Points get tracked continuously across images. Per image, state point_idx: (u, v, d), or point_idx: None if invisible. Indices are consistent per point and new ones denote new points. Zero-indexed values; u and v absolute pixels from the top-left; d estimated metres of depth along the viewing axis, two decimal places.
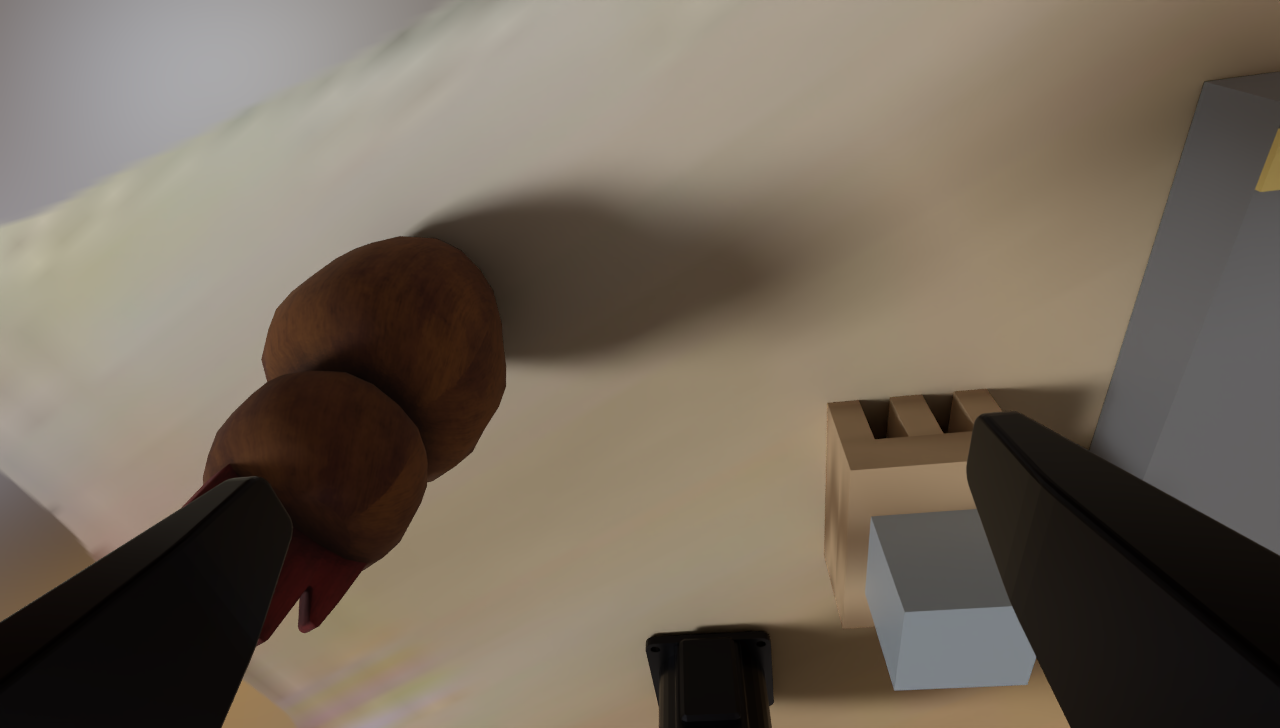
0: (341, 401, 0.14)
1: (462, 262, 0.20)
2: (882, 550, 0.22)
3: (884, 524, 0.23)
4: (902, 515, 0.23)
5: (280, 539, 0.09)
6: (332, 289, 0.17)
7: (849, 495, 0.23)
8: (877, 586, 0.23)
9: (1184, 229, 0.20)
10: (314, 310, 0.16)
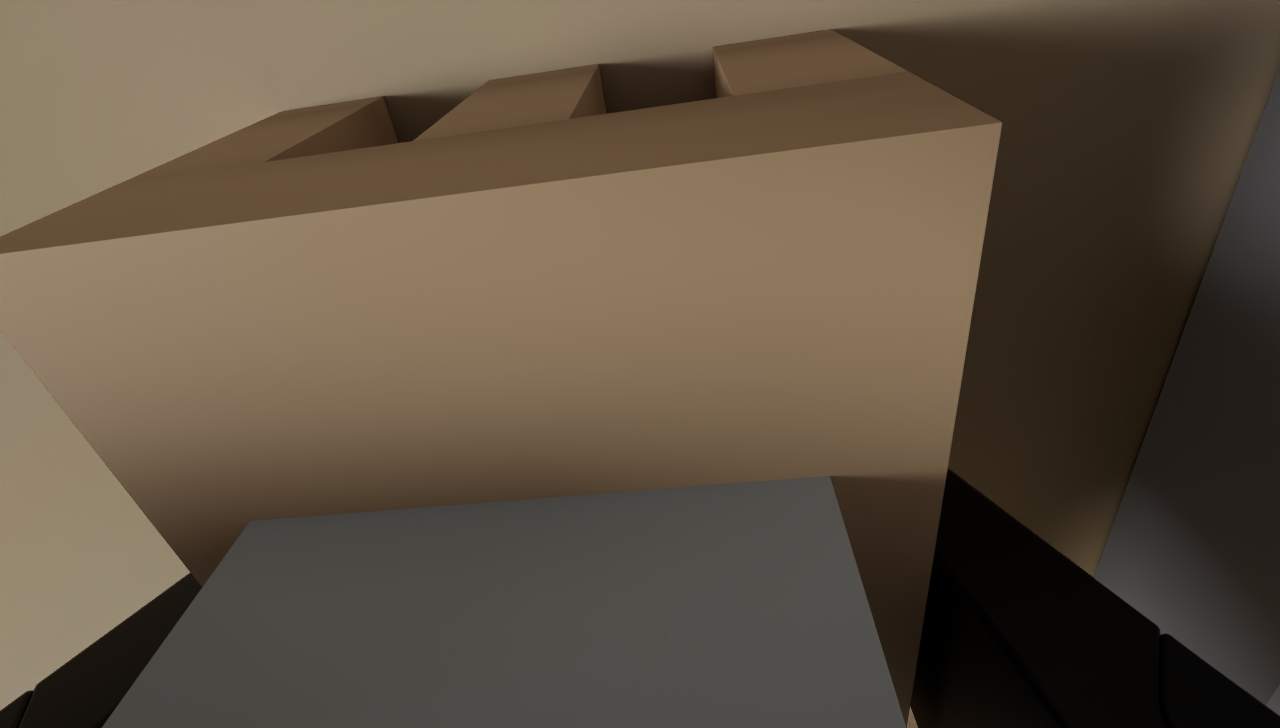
0: None
1: None
2: (116, 723, 0.04)
3: (261, 563, 0.05)
4: (391, 518, 0.05)
5: None
6: None
7: (78, 420, 0.05)
8: None
9: None
10: None
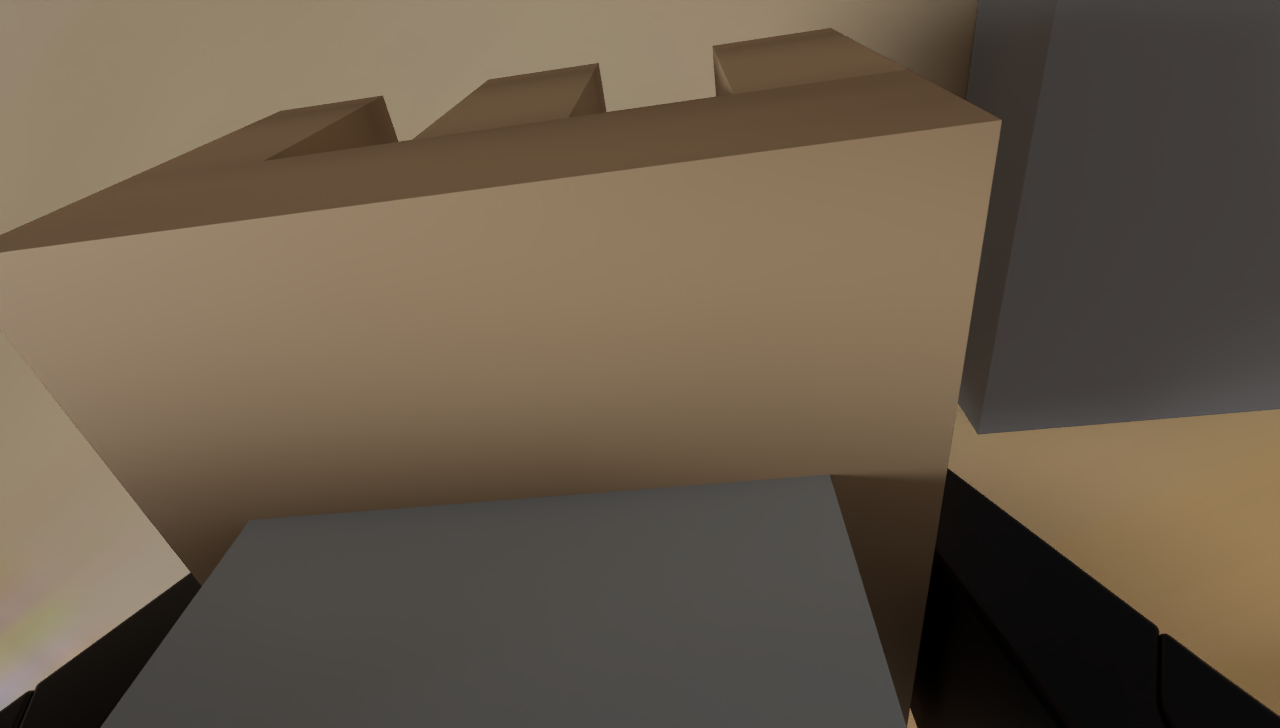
0: None
1: None
2: (116, 722, 0.04)
3: (261, 562, 0.05)
4: (391, 517, 0.05)
5: None
6: None
7: (77, 419, 0.05)
8: None
9: None
10: None
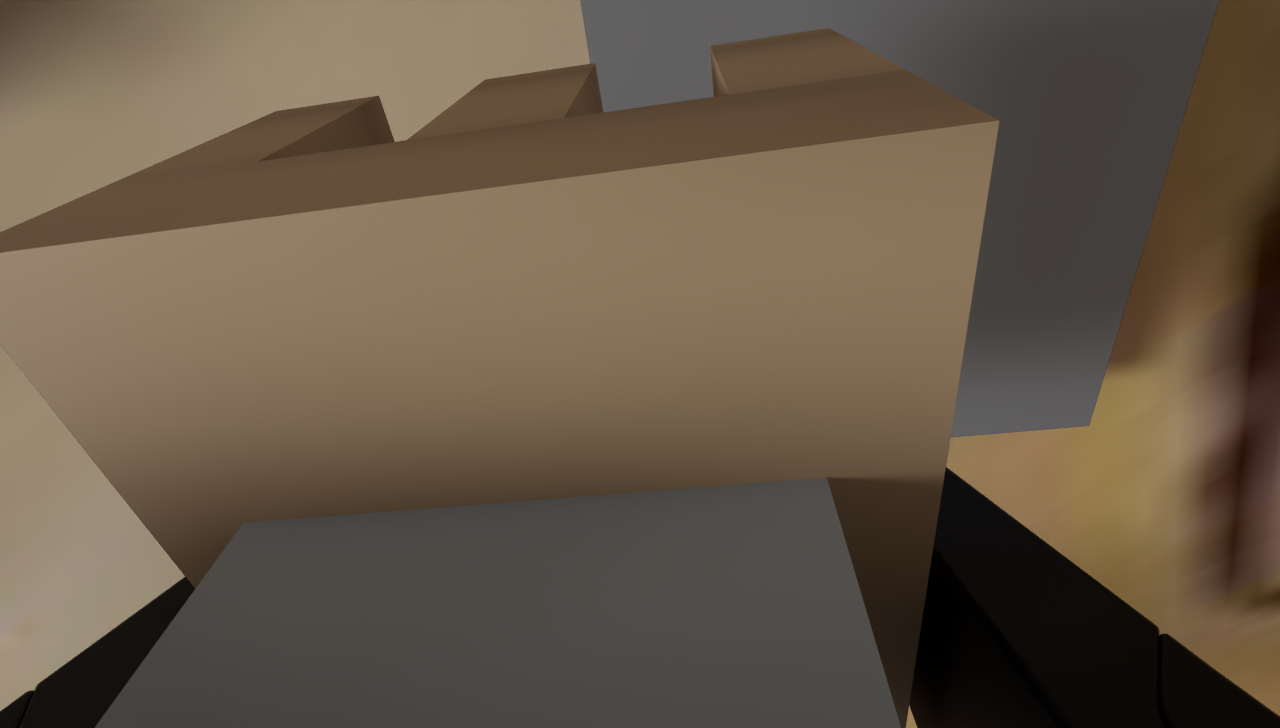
0: None
1: None
2: None
3: (253, 566, 0.05)
4: (385, 519, 0.05)
5: None
6: None
7: (69, 421, 0.04)
8: None
9: None
10: None
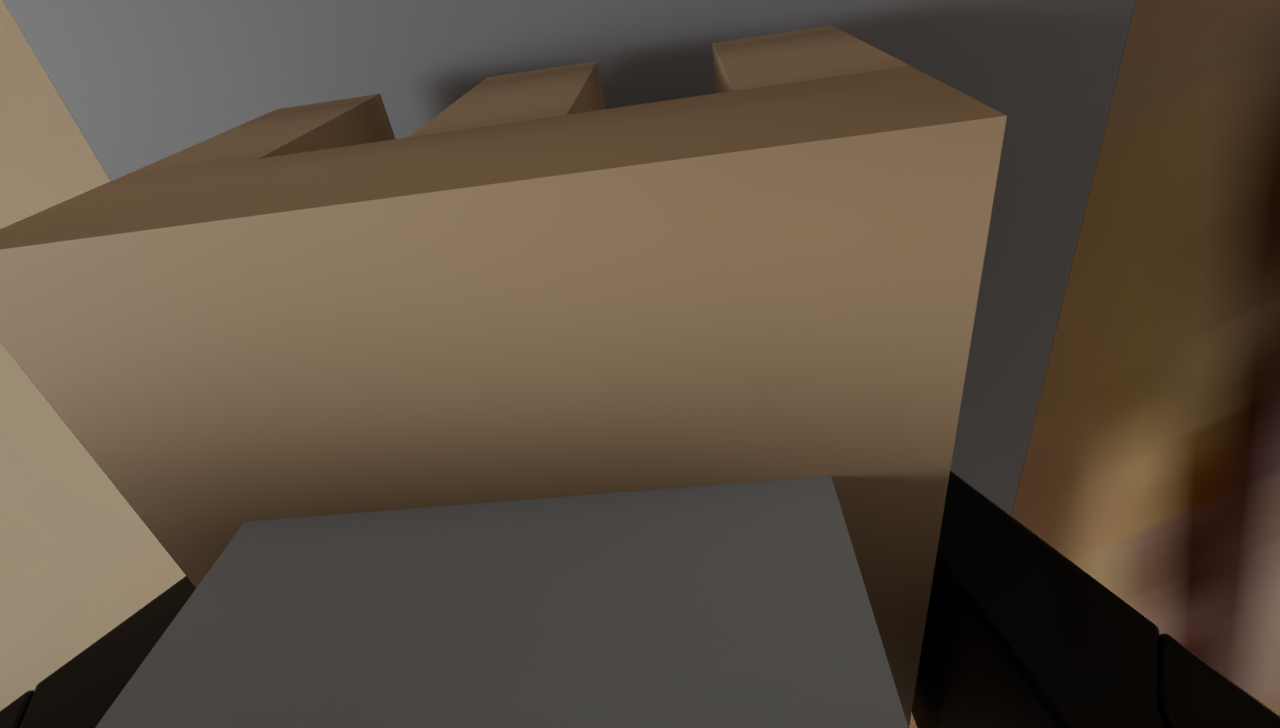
0: None
1: None
2: (107, 727, 0.04)
3: (256, 564, 0.05)
4: (386, 519, 0.05)
5: None
6: None
7: (69, 419, 0.04)
8: None
9: None
10: None
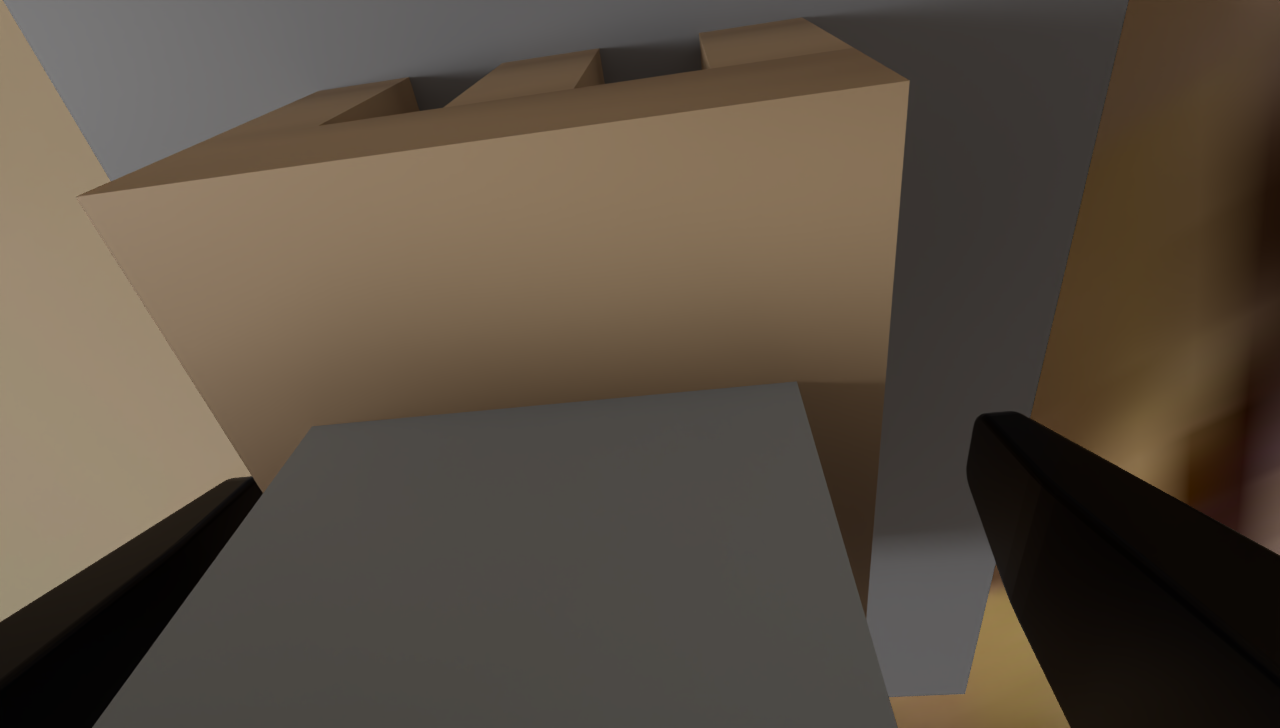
0: None
1: None
2: (221, 563, 0.05)
3: (326, 454, 0.06)
4: (431, 423, 0.06)
5: None
6: None
7: (168, 336, 0.06)
8: None
9: None
10: None
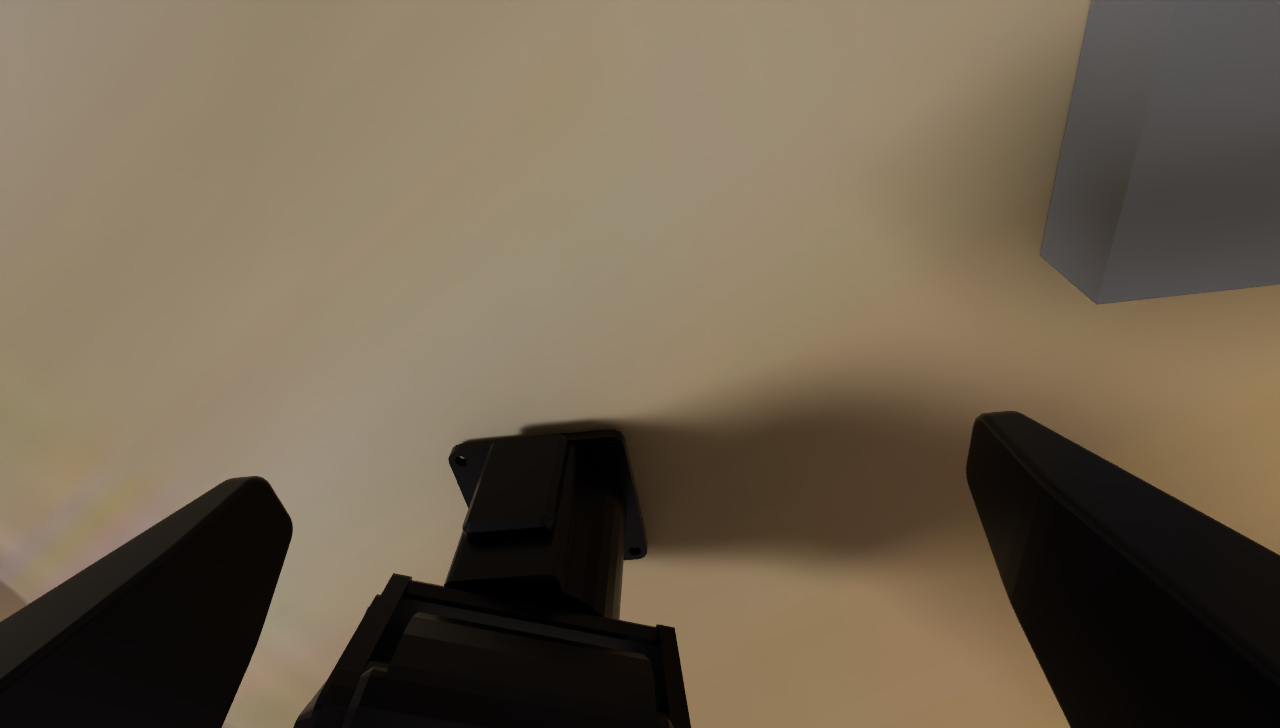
0: None
1: None
2: None
3: None
4: None
5: (280, 539, 0.09)
6: None
7: None
8: None
9: None
10: None
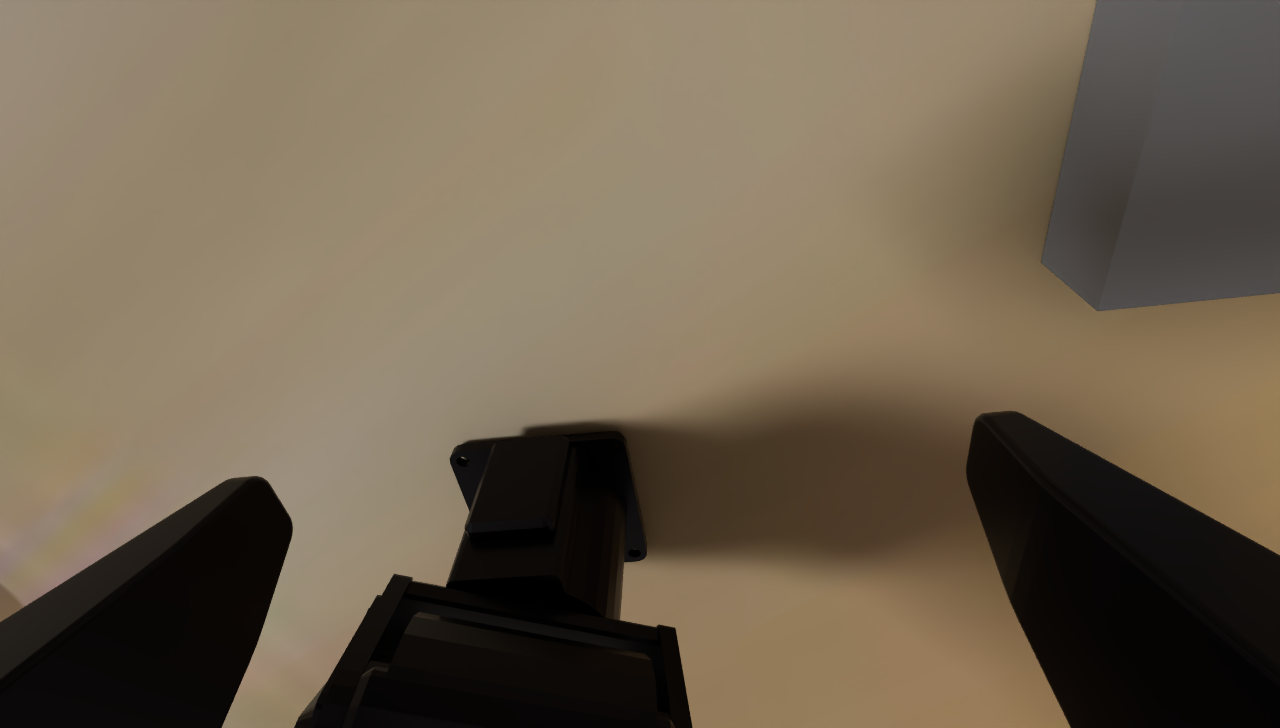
0: None
1: None
2: None
3: None
4: None
5: (280, 539, 0.09)
6: None
7: None
8: None
9: None
10: None
